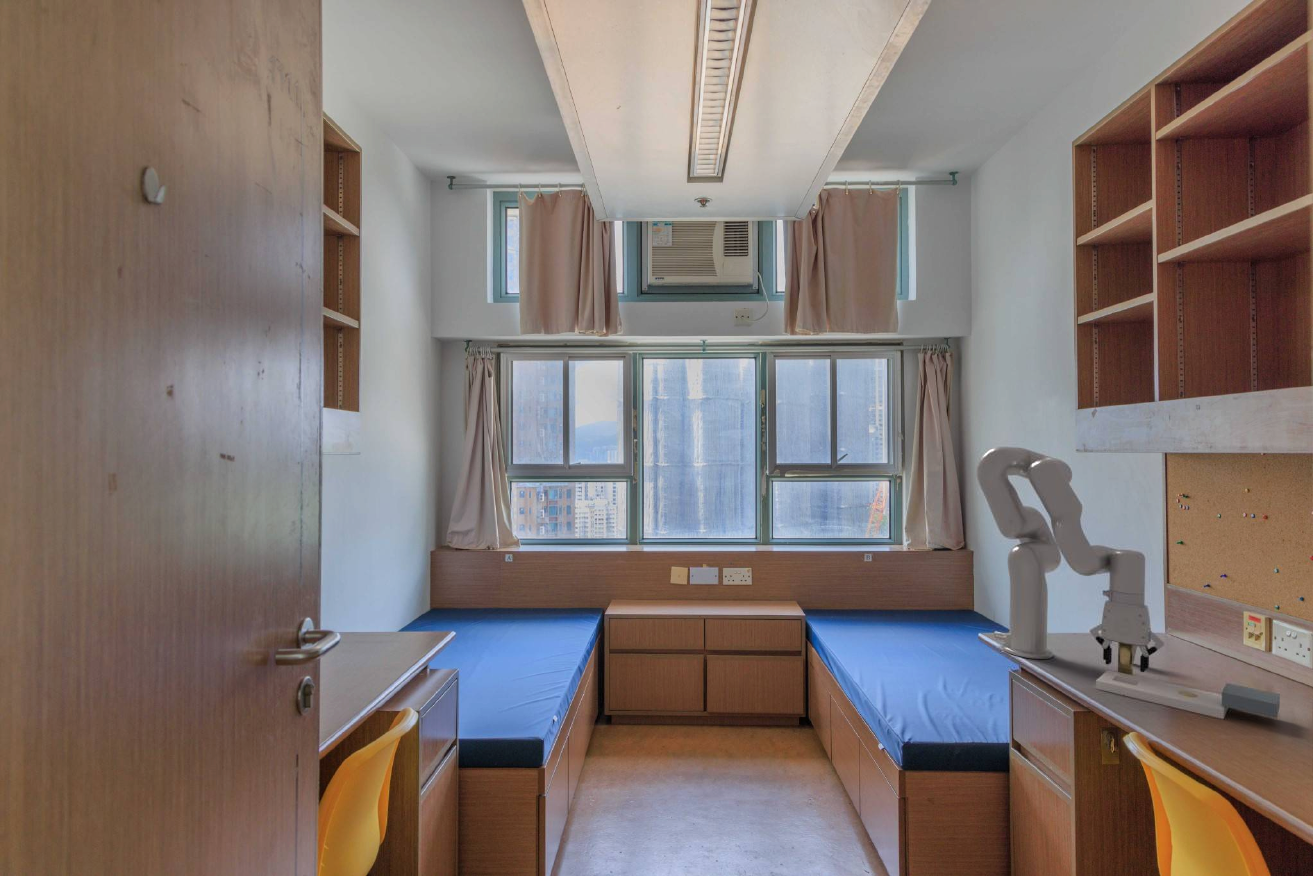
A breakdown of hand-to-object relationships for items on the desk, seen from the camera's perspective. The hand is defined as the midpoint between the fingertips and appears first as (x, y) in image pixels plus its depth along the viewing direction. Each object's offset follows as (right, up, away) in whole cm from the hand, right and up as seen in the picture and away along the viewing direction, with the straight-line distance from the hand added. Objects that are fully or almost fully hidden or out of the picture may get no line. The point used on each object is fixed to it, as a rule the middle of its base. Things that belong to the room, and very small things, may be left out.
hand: (1125, 666), depth 173 cm
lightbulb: (+9, -3, +12) cm, 15 cm away
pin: (0, -3, 0) cm, 3 cm away
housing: (+10, -1, -25) cm, 27 cm away
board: (-1, -3, -13) cm, 14 cm away
